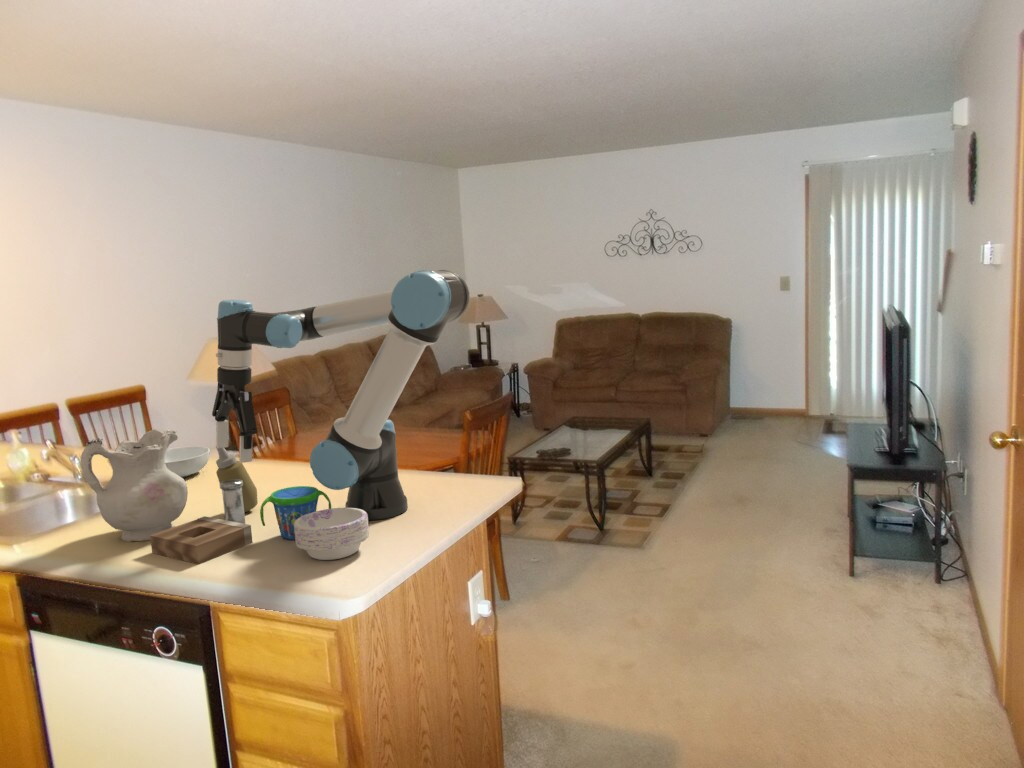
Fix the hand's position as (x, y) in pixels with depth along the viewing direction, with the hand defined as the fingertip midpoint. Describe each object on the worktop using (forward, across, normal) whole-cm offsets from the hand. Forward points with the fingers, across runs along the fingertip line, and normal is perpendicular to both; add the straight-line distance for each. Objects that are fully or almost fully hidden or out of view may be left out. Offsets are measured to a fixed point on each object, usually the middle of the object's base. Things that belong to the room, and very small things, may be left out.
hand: (233, 454), depth 188 cm
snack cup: (+15, +21, +6) cm, 26 cm away
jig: (+17, +12, -13) cm, 24 cm away
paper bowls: (+13, +38, +6) cm, 40 cm away
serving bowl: (+24, -61, +8) cm, 66 cm away
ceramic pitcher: (+20, -9, -18) cm, 28 cm away
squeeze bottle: (+17, -7, +6) cm, 19 cm away
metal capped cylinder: (+17, +4, -1) cm, 17 cm away
